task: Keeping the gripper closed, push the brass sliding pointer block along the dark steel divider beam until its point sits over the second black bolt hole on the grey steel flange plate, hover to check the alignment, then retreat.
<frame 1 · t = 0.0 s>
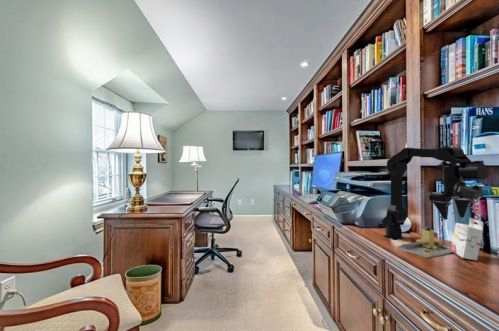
hand: (453, 218, 98), 15 cm above the worktop, fingers open, 9 cm apart
slider: (426, 236, 107), point 5 cm above the worktop, slide at 1.5 cm
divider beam: (419, 247, 109), resting on flange plate
flange plate: (428, 249, 105), on the worktop
ink cartridge box: (462, 256, 97), on the worktop
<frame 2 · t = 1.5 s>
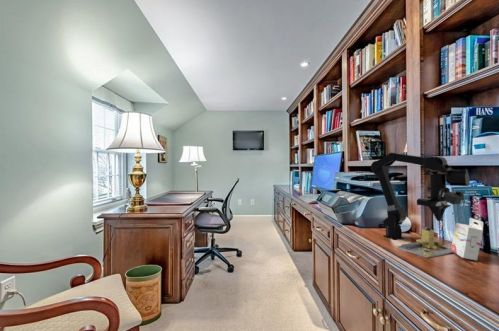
hand: (438, 220, 109), 11 cm above the worktop, fingers closed
ink cartridge box: (462, 256, 97), on the worktop, touching flange plate
everything else where it was.
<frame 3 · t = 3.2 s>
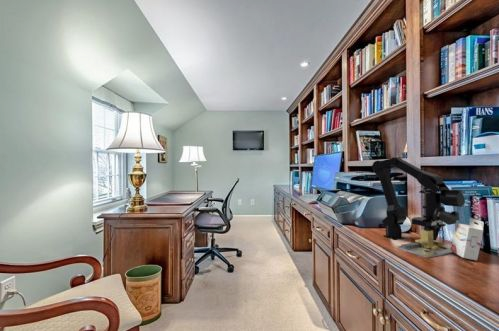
hand: (434, 240, 108), 3 cm above the worktop, fingers closed
slider: (425, 236, 107), point 5 cm above the worktop, slide at 0.9 cm, touching gripper
everything else where it was.
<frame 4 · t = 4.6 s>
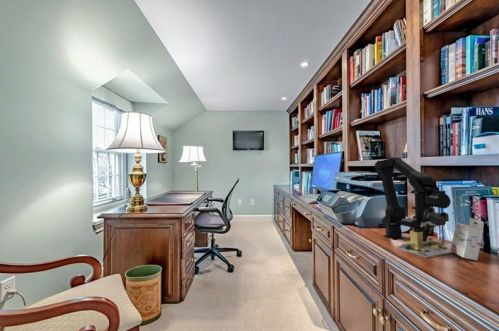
hand: (424, 241, 106), 3 cm above the worktop, fingers closed
slider: (415, 238, 105), point 5 cm above the worktop, slide at -5.0 cm, touching gripper
everything else where it was.
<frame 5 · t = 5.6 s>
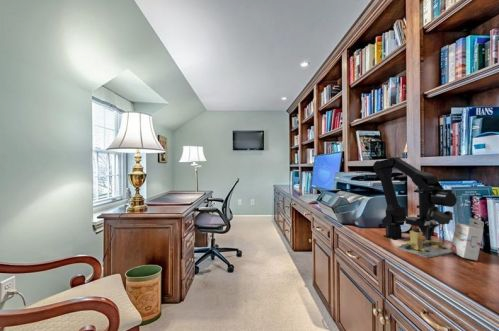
hand: (428, 240, 107), 4 cm above the worktop, fingers closed
slider: (415, 238, 105), point 5 cm above the worktop, slide at -5.0 cm
everything else where it was.
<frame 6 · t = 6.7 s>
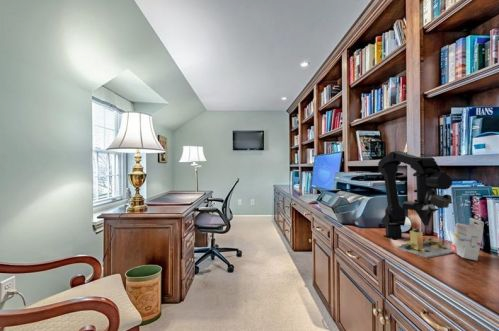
hand: (426, 225, 102), 11 cm above the worktop, fingers closed
nothing on the worktop moved.
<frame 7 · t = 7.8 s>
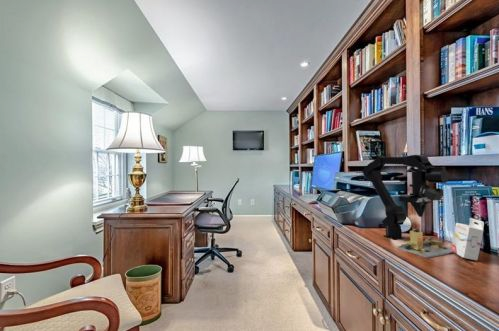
hand: (420, 216, 113), 12 cm above the worktop, fingers closed
nothing on the worktop moved.
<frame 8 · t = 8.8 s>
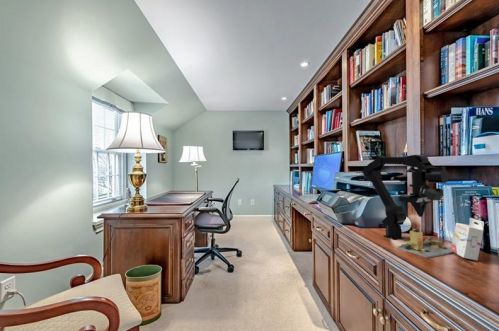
hand: (420, 216, 113), 13 cm above the worktop, fingers closed
nothing on the worktop moved.
at the end: slider slide at -5.0 cm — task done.
